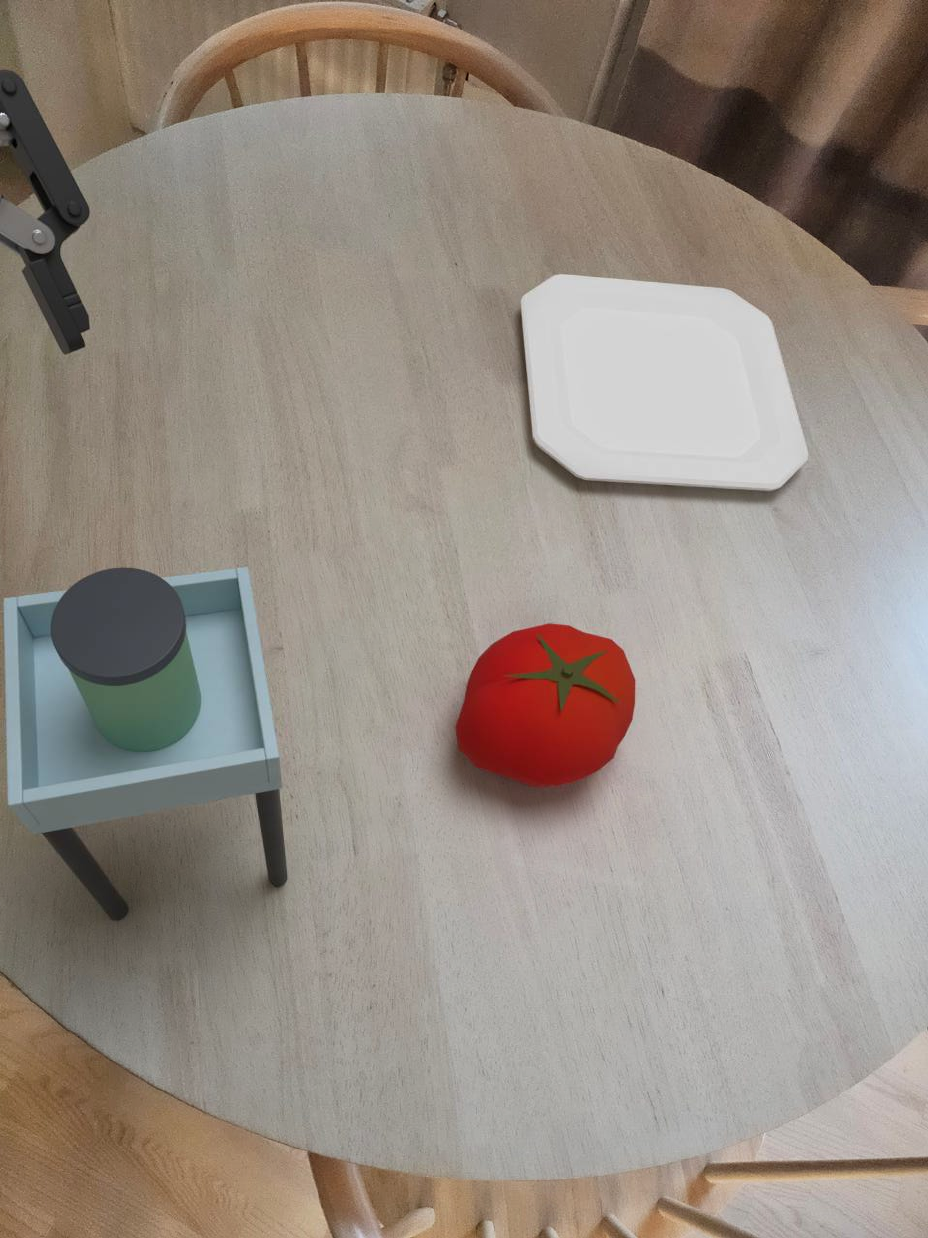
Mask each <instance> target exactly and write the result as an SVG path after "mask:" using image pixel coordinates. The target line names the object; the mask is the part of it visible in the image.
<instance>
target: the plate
mask: <svg viewBox="0 0 928 1238" xmlns="http://www.w3.org/2000/svg"><path fill="white" fill-rule="evenodd" d="M519 304H520V315H521V316H520V317H521V325H522V326H521V327H522V338H523V347H524V359H525V369H526V380H527V391H528V402H529V412H530V423H531V425H530V426H531V434H532V440H533V442H534V443H535V445H536V447H538V448H539V449H541V451H542V452H544V453H546V454H547V455H548V456H549V457H550V458H552V459H553V460H555V461H556V462H557V463H558V464H559V465H561V467H563V468H564V469H565V470H567V471H568V472H570V474H572V475H573V476H574V477H576V478H578V479H581V480H584V481H593V482H611V483H628V484H629V483H630V484H647V485H648V484H649V485H660V486H661V485H663V486H677V487H678V486H679V487H681V486H682V487H696V488H697V487H698V488H713V489H730V490H731V489H732V490H747V491H766V492H773V491H775V490H779V489H781V488H782V487H783V486H784V485H785V484H786V483H787V482H789V480H790V479H791V478H792V477H793V476H794V475H795V474H796V473H797V472H798V471H799V470H800V469H801V468H802V467H803V466H804V465H805V464H806V463H807V462H808V459H809V455H810V454H809V449H808V446H807V443H806V439H805V436H804V431H803V428H802V425H801V421H800V417H799V414H798V410H797V406H796V403H795V399H794V397H793V392H792V389H791V385H790V381H789V377H788V375H787V370H786V367H785V363H784V360H783V356H782V353H781V349H780V345H779V342H778V339H777V335H776V330H775V327H774V323H773V320H771V319H770V317H769V316H768V315H767V314H766V313H764V312H763V311H761V310H760V309H758V308H757V307H756V306H754V305H752V303H749V301H747V300H745V299H744V298H743V297H742V296H739V294H737V293H735V292H734V291H732V290H730V289H727V288H724V287H715V286H713V287H712V286H701V285H690V284H680V283H679V284H678V283H669V282H658V281H657V282H656V281H645V280H635V279H624V278H622V279H621V278H610V277H601V276H600V277H599V276H587V275H577V274H566V273H565V274H564V273H559V274H553V275H552V276H550V277H549V278H547V279H545V280H544V281H543V282H541V283H540V284H538V285H537V286H535V287H533V288H532V289H531V290H529V291H527V292H526V293H525V294H524V295H522V297H521V299H520V301H519Z"/></svg>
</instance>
